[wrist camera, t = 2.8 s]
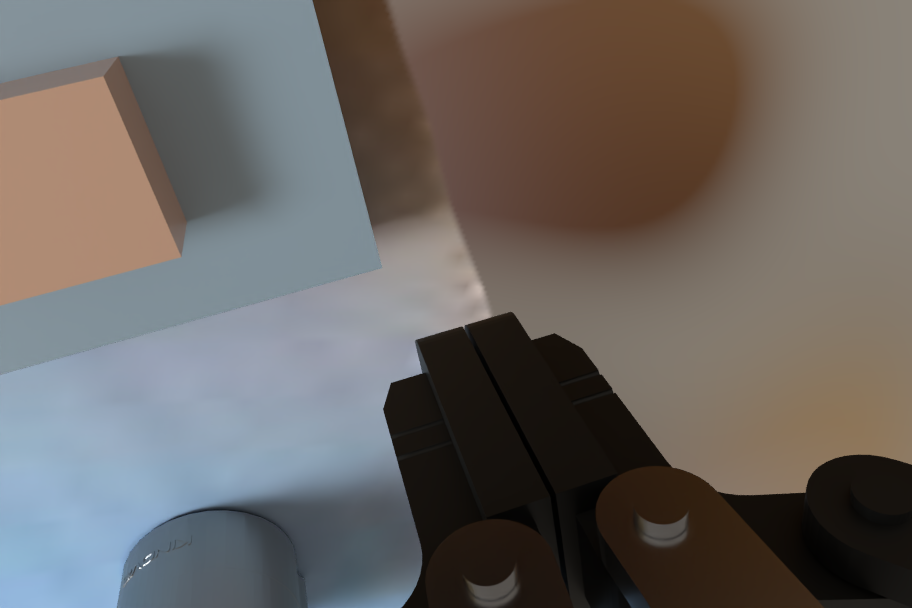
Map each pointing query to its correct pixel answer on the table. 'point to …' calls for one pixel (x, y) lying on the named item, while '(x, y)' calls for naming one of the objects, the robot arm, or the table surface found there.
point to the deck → (203, 161)
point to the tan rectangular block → (79, 183)
